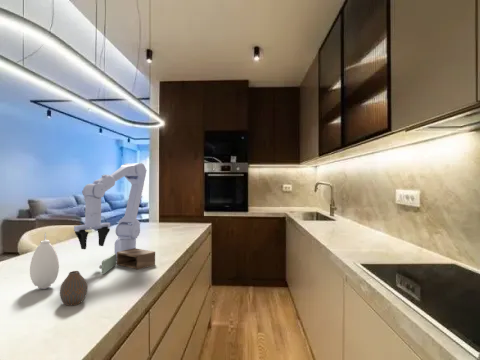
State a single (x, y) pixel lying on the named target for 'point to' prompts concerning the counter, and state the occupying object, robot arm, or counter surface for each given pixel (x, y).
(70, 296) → the vase
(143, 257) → the brown wooden box
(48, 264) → the white tall ovoid
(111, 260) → the door
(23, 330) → the counter surface
